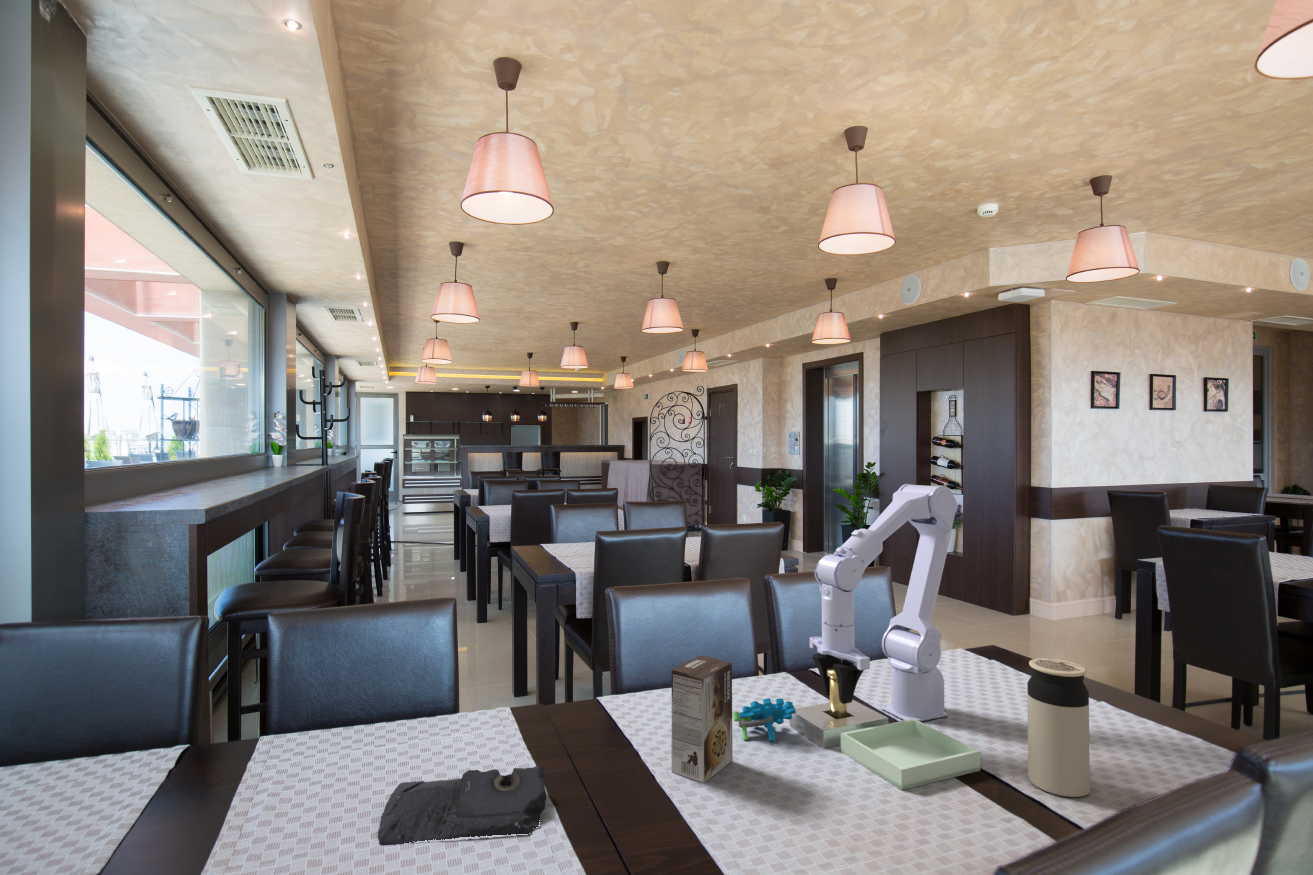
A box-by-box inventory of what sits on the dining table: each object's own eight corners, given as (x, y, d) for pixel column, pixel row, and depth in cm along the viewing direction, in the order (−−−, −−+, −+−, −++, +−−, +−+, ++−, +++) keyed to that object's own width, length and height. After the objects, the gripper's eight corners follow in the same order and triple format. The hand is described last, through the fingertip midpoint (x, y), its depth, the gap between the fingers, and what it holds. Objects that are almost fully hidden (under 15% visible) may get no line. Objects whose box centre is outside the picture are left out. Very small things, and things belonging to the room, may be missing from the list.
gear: (793, 715, 123) (794, 691, 116) (801, 748, 118) (802, 725, 112) (734, 722, 123) (731, 698, 116) (739, 755, 119) (736, 732, 112)
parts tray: (914, 735, 118) (914, 718, 118) (980, 770, 105) (980, 751, 105) (840, 751, 112) (840, 733, 112) (901, 790, 99) (901, 769, 99)
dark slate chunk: (397, 791, 99) (397, 759, 99) (547, 781, 102) (547, 750, 102) (368, 852, 84) (368, 814, 84) (545, 838, 87) (545, 801, 87)
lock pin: (840, 719, 123) (840, 665, 123) (854, 728, 119) (854, 671, 120) (822, 723, 121) (822, 667, 122) (836, 731, 118) (836, 674, 118)
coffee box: (699, 751, 112) (700, 654, 112) (733, 761, 108) (733, 661, 108) (669, 772, 104) (669, 668, 105) (704, 784, 101) (704, 676, 101)
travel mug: (1069, 804, 95) (1067, 677, 96) (1016, 779, 102) (1015, 661, 103) (1101, 791, 99) (1100, 668, 99) (1048, 768, 106) (1047, 654, 106)
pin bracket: (851, 714, 128) (851, 698, 128) (888, 734, 118) (888, 717, 119) (789, 725, 122) (789, 709, 122) (823, 748, 113) (823, 730, 113)
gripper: (796, 615, 126) (796, 687, 126) (846, 634, 113) (846, 716, 112) (826, 612, 129) (827, 682, 128) (879, 630, 115) (879, 709, 115)
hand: (838, 698), depth 120 cm, fingers closed on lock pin, 4 cm apart
